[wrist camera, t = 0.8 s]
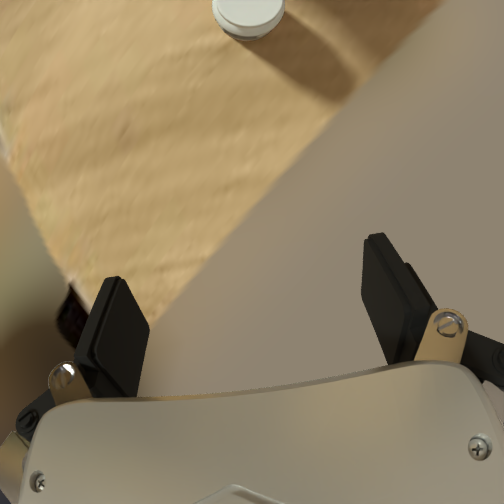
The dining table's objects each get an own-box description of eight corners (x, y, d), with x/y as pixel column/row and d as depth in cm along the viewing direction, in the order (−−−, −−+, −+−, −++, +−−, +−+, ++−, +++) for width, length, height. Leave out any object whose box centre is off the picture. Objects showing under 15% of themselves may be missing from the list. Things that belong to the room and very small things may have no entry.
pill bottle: (288, 17, 25) (309, 0, 17) (246, 52, 27) (249, 49, 19) (247, -20, 23) (251, -50, 14) (204, 16, 25) (191, -1, 17)
